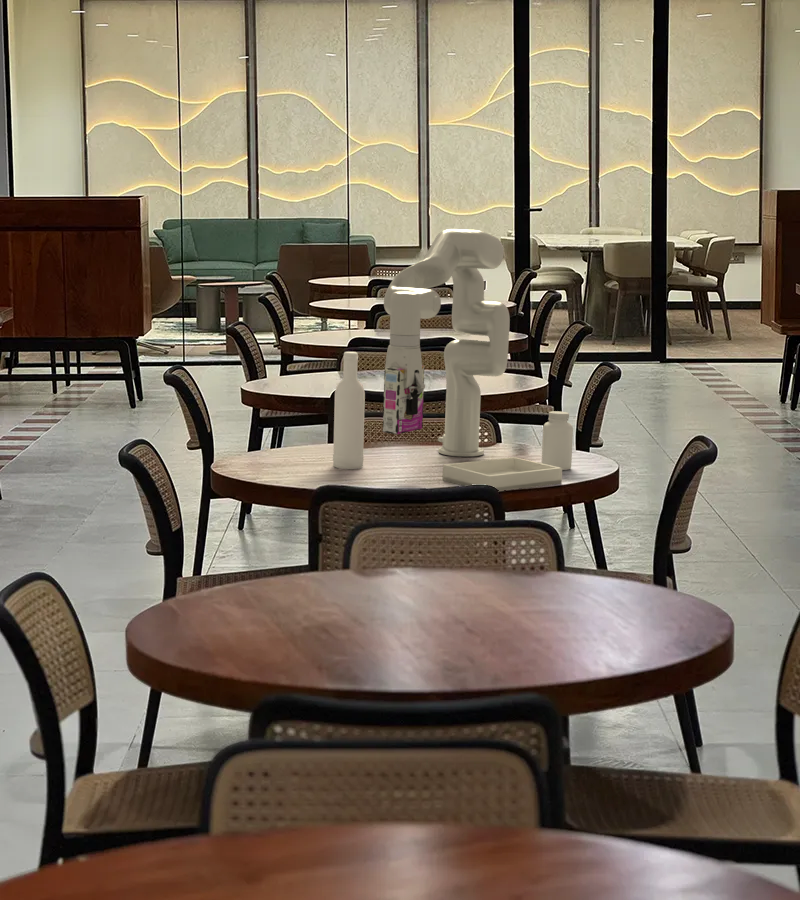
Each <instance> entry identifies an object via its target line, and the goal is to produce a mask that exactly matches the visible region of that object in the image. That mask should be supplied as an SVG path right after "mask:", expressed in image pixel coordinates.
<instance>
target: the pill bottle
mask: <svg viewBox="0 0 800 900" xmlns="http://www.w3.org/2000/svg"><path fill="white" fill-rule="evenodd" d="M569 419H570V412H567V411H561V410H560V411H558V410H557V411H556V410H555V411H549V412H548V419H547V420H548V421H547V422H545V423H544V424H543V427H542V444H541V445H542V446H541V463H543V464H547V465H551V466H556V467H560V468H562V471H568V470H570V469H571V468H572V463H573V462H572V459H573V436H574V435H573V434H574V427H573V425H572V423H570V422H569Z"/></svg>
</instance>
